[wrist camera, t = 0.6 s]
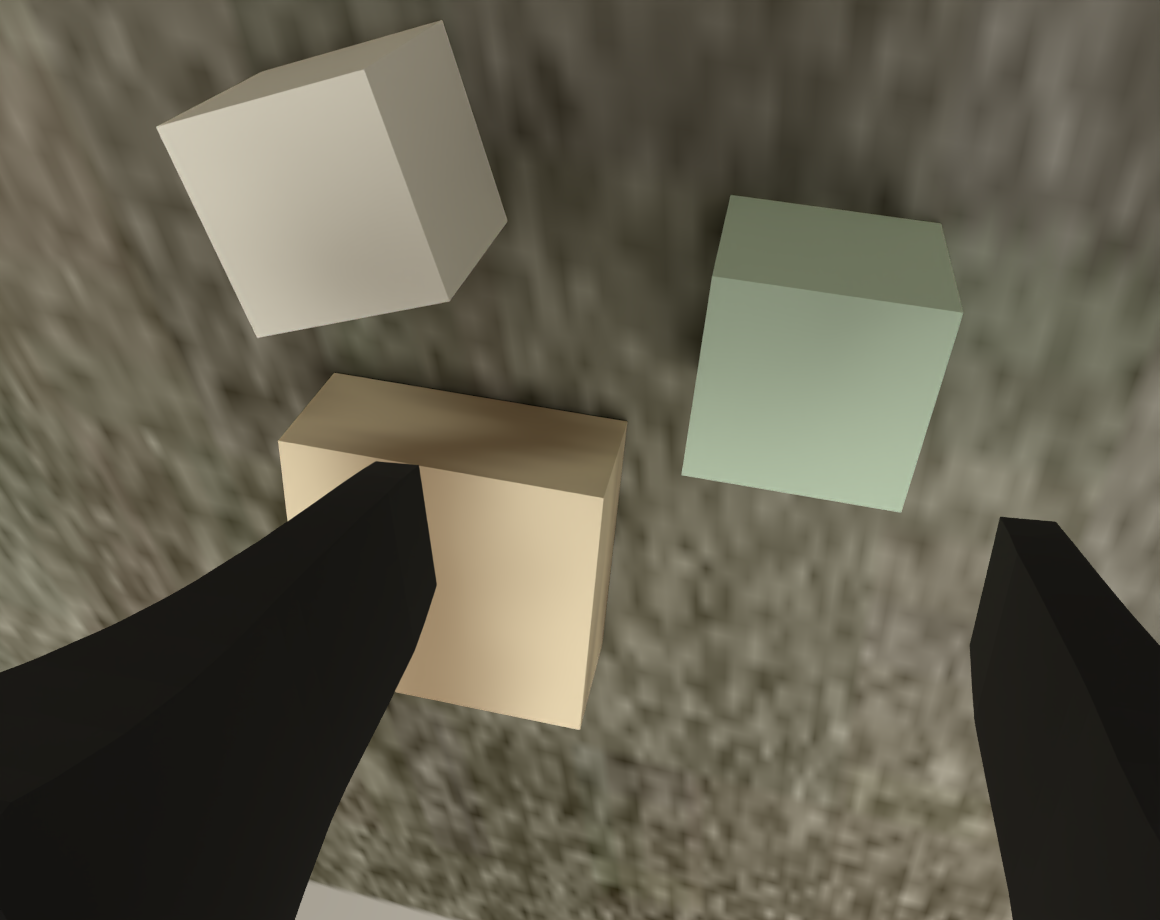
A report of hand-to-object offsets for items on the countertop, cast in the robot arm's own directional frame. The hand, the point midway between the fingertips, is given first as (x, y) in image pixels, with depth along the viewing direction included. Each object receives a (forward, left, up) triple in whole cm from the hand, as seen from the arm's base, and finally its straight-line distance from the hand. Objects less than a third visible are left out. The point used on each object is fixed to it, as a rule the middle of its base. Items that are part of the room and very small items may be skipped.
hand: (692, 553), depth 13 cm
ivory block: (+7, -1, -10) cm, 12 cm away
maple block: (+5, +8, -9) cm, 13 cm away
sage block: (-2, +1, -10) cm, 10 cm away
